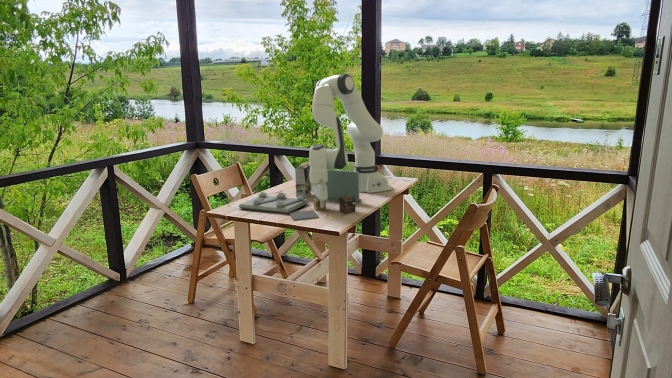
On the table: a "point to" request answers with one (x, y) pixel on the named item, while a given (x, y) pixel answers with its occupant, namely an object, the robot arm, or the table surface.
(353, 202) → the box
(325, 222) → the table surface
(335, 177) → the screen
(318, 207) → the letter cube
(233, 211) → the table surface
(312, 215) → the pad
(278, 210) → the grey spiky constellation board
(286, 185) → the table surface
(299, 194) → the coffee box
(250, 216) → the table surface
